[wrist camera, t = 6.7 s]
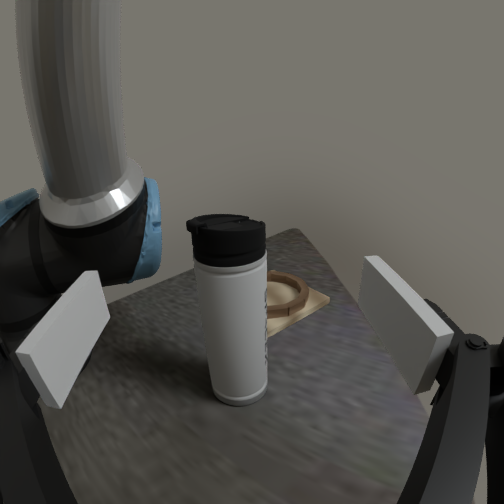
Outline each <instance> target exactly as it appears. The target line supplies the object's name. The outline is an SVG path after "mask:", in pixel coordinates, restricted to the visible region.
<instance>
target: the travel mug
mask: <svg viewBox="0 0 504 504" xmlns="http://www.w3.org/2000/svg"><path fill="white" fill-rule="evenodd" d="M186 226H187V230H188V231H189V232H191V234H192V245H193V260H194V269H195V277H196V285H197V293H198V300H199V307H200V314H201V321H202V328H203V335H204V341H205V347H206V353H207V359H208V365H209V371H210V377H211V382H212V388H213V392H214V394H215V396H216V397H217V398H218V399H219V400H220V401H222V402H224V403H226V404H229V405H234V406H244V405H249V404H252V403H254V402H256V401H258V400H259V399H260V398H262V396H263V395H264V394H265V392H266V390H267V259H266V257H267V253H266V244H265V241H266V233H265V223H264V222H262V221H260V222H258V221H255V220H250V219H249V217H247V216H242V215H232V214H211V215H203V216H198V217H195V218H193V219H191V220H188V221H187V222H186Z"/></svg>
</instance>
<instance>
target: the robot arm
mask: <svg viewBox="0 0 504 504" xmlns="http://www.w3.org/2000/svg"><path fill="white" fill-rule="evenodd" d="M15 4H16V5H15V8H16V9H15V12H16V35H17V49H18V58H19V67H20V74H21V80H22V87H23V93H24V98H25V104H26V109H27V114H28V118H29V123H30V127H31V132H32V136H33V139H34V143H35V147H36V151H37V154H38V158H39V161H40V164H41V168H42V171H43V175H44V178H45V181H46V184H45V185H44V187H43V190H42V191H41V194H40V199H38V198H39V194H38V193H37V191H36V189H34V188H32V189H29V190H26V191H23V192H21V193H19V194H16V195H14V196H12V197H10V198H8V199H5V200H4V201H1V202H0V504H3V500H4V504H78V503H77V501H76V499H75V497H74V495H73V493H72V491H71V489H70V487H69V484H68V482H67V480H66V478H65V476H64V473H63V471H62V469H61V466H60V464H59V461H58V459H57V456H56V454H55V451H54V448H53V445H52V443H51V440H50V437H49V434H48V431H47V428H46V425H45V422H44V418H43V415H42V412H41V408H40V406H39V405H38V403H37V400H38V398H39V396H41V398H42V400H43V401H44V403H45V404H46V406H49V407H54V408H58V409H61V408H62V406H63V404H64V402H65V400H66V398H67V396H68V394H69V392H70V390H71V388H72V386H73V384H74V382H75V380H76V378H77V376H78V375H79V374H80V373H81V372H82V371H83V369H84V368H85V367H86V365H87V363H88V362H89V359H90V357H91V353H92V348H93V347H94V345H95V343H96V341H97V339H98V338H99V336H100V334H101V332H102V331H103V329H104V327H105V325H106V324H107V322H108V320H109V319H110V314H109V311H108V308H107V304H106V301H105V297H104V294H103V290H102V287H104V286H111V285H117V284H123V283H127V284H129V283H132V282H133V281H134V280H139V279H143V278H148V277H151V276H153V275H154V274H155V273H156V272H157V270H158V269H159V266H160V262H161V252H162V232H161V227H160V225H161V208H160V197H159V190H158V186H157V183H156V181H155V180H154V179H150V178H149V179H148V178H145V177H144V174H143V171H142V169H141V167H140V165H139V164H138V163H137V162H136V161H134V160H133V159H131V158H129V157H127V153H126V144H125V134H124V124H123V110H122V95H121V69H120V23H121V21H120V20H121V0H16V1H15ZM61 293H64V294H63V295H61ZM358 306H359V308H360V309H361V311H362V312H363V314H364V315H365V317H366V318H367V320H368V321H369V323H370V325H371V326H372V328H373V329H374V331H375V332H376V334H377V335H378V337H379V339H380V340H381V342H382V343H383V345H384V346H385V348H386V350H387V351H388V353H389V354H390V356H391V358H392V359H393V361H394V363H395V364H396V366H397V368H398V369H399V371H400V372H401V374H402V376H403V377H404V379H405V381H406V382H407V384H408V386H409V388H410V389H411V391H412V393H413V394H414V395H416V394H419V393H422V392H426V391H429V390H430V389H431V387H432V385H433V383H434V380H435V379H436V380H437V381H438V383H439V384H440V386H439V388H438V390H437V392H436V394H435V396H434V398H433V400H432V402H431V404H430V405H433V408H432V411H431V415H430V418H429V422H428V425H427V428H426V431H425V434H424V437H423V440H422V443H421V446H420V449H419V452H418V455H417V457H416V460H415V463H414V465H413V468H412V470H411V473H410V475H409V478H408V480H407V482H406V485H405V487H404V489H403V491H402V494H401V496H400V498H399V500H398V502H397V504H471V503H472V499H473V496H474V492H475V488H476V484H477V480H478V475H479V471H480V465H481V461H482V455H483V449H484V443H485V447H486V458H487V459H486V460H487V504H504V337H503V339H502V342H501V344H498V345H489V344H488V342H487V341H486V340H485V339H484V338H482V337H481V336H478V335H476V334H464V333H463V332H462V330H460V329H459V327H458V326H457V325H456V324H455V323H454V322H453V321H452V320H451V319H450V318H448V316H447V315H446V314H445V313H444V312H443V311H442V310H441V309H440V308H439V307H438V306H437V305H436V304H435V303H433V302H431V301H429V300H428V299H422V298H421V297H420V296H419V295H418V294H417V293H416V292H415V291H414V290H413V289H412V288H411V287H410V286H409V285H408V284H407V283H406V282H405V281H404V280H403V279H402V278H401V277H400V276H399V275H398V274H397V273H395V271H393V270H392V269H391V268H390V267H389V266H388V265H387V264H386V263H385V262H384V261H383V260H382V259H381V258H380V257H379V256H364V261H363V270H362V278H361V285H360V292H359V299H358ZM433 403H434V404H433Z"/></svg>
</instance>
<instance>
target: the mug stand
mask: <svg viewBox="0 0 504 504" xmlns="http://www.w3.org/2000/svg"><path fill="white" fill-rule="evenodd" d="M329 302H330V297H328V296H326V295H324V294H322V293H319V292H317V291H315V290H313V289H311V288H309V287H308V286H307V285H306V283H305V282H304V280H303V279H301V278H298V277H296V276H294V275H292V274H289V273H283V272H276V271H274V270H271V271H267V338H268V337H270V336H272V335H274V334H275V333H277V332H279V331H281V330H283V329H285V328H286V327H288V326H290V325H292V324H294V323H295V322H297V321H299V320H301V319H302V318H304V317H306V316H308V315H309V314H311V313H313V312H315V311H316V310H318V309H320V308H321V307H323V306H325V305H326V304H328V303H329Z"/></svg>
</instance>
